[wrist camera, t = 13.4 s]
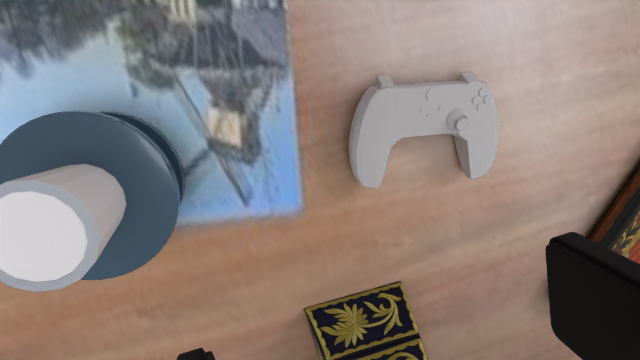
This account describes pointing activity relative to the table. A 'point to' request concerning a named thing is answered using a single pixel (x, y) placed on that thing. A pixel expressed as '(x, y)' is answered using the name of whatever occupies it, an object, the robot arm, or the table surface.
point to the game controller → (424, 123)
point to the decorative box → (366, 327)
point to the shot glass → (56, 225)
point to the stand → (118, 160)
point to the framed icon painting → (622, 222)
